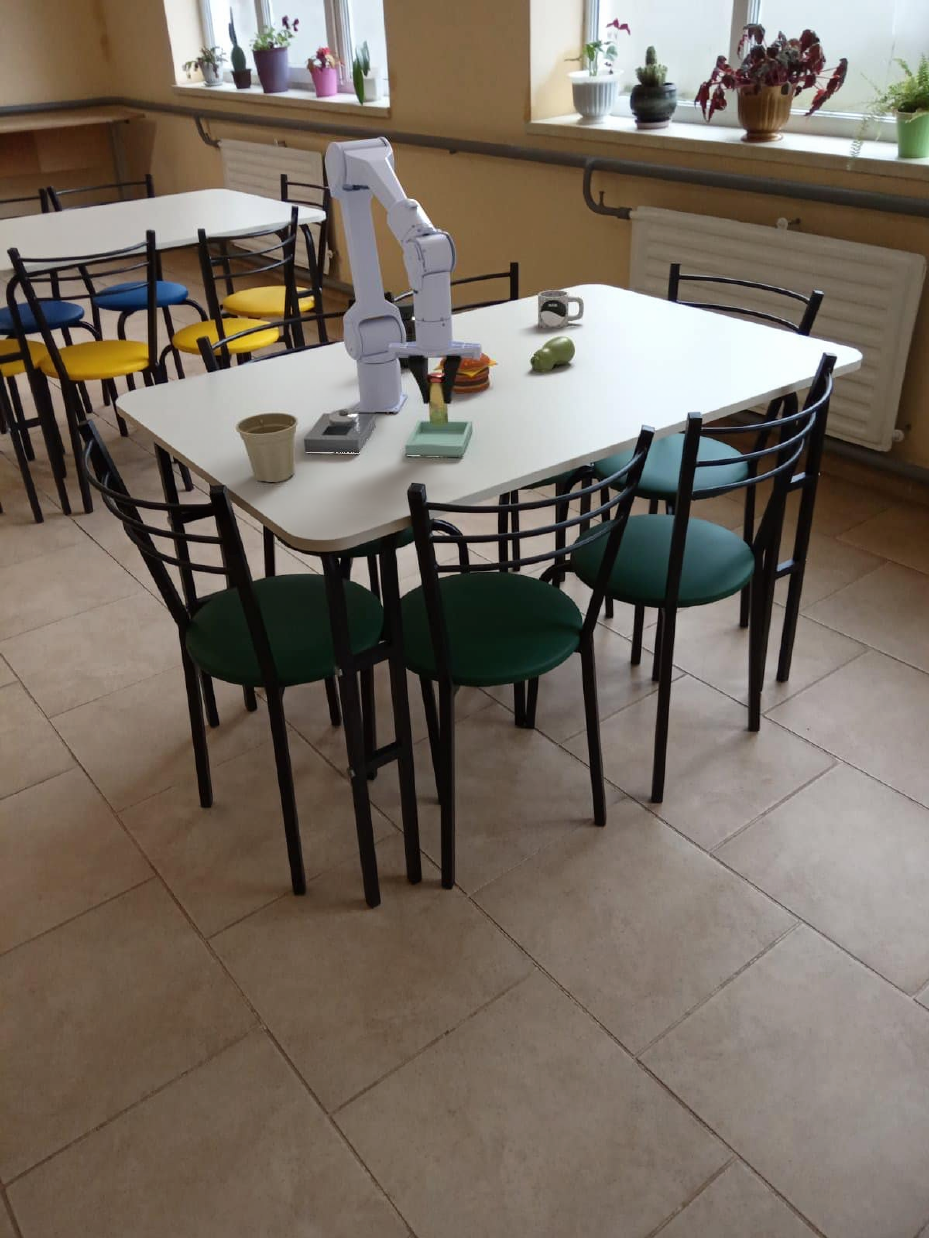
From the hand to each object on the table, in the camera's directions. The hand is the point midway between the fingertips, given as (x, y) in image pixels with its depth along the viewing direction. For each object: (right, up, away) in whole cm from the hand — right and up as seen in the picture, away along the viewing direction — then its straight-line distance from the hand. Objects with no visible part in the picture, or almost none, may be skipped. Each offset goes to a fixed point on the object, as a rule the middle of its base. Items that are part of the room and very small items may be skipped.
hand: (437, 402), depth 166 cm
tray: (0, -6, +4) cm, 7 cm away
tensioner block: (-16, -5, +7) cm, 18 cm away
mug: (+26, +30, +62) cm, 74 cm away
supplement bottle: (-7, +16, +42) cm, 46 cm away
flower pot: (-25, -13, -4) cm, 29 cm away
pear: (+22, +15, +37) cm, 45 cm away
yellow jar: (0, -3, +2) cm, 3 cm away
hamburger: (+5, +9, +29) cm, 31 cm away
